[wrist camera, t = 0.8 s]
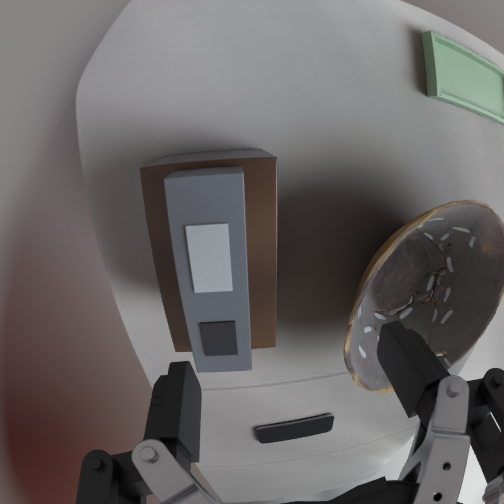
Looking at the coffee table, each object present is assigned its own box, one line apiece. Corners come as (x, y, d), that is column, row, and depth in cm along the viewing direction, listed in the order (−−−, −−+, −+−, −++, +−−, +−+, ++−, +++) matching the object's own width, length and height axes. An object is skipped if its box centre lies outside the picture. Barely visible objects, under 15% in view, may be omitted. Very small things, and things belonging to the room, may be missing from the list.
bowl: (463, 301, 37) (496, 335, 28) (338, 367, 39) (359, 417, 30) (459, 154, 26) (516, 171, 17) (289, 221, 29) (316, 265, 20)
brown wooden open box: (167, 155, 25) (139, 167, 17) (261, 148, 25) (277, 156, 17) (186, 297, 31) (175, 352, 23) (264, 293, 32) (275, 347, 24)
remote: (173, 170, 17) (162, 178, 14) (241, 165, 17) (243, 172, 14) (199, 347, 23) (197, 374, 20) (249, 345, 23) (252, 371, 21)
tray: (426, 96, 23) (437, 96, 21) (420, 33, 20) (430, 30, 18) (507, 127, 24) (516, 129, 23) (505, 77, 21) (513, 77, 19)
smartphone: (255, 429, 44) (334, 415, 44) (255, 426, 44) (333, 412, 45) (260, 444, 47) (331, 431, 47) (259, 441, 48) (330, 428, 48)
